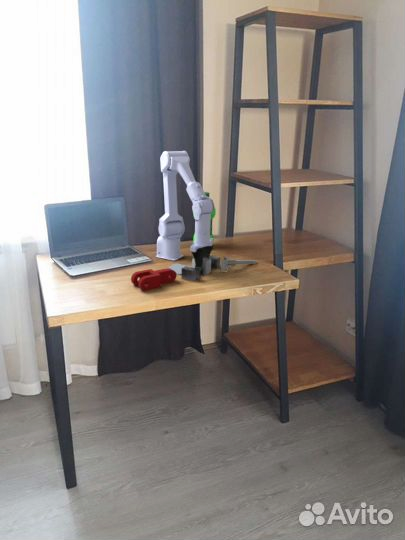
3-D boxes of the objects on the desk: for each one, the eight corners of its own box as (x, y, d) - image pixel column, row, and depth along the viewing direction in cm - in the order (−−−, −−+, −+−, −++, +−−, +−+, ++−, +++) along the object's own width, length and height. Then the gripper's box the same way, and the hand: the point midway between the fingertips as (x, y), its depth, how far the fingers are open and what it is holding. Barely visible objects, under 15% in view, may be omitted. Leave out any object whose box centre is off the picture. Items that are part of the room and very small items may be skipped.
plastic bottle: (196, 243, 214) (197, 190, 205) (217, 245, 210) (219, 192, 202) (188, 248, 205) (189, 193, 196) (210, 251, 201) (212, 195, 193)
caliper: (222, 273, 175) (223, 258, 173) (220, 272, 176) (221, 257, 174) (257, 263, 188) (258, 249, 186) (255, 262, 189) (256, 248, 187)
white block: (192, 272, 174) (192, 258, 172) (197, 269, 178) (197, 256, 176) (205, 275, 172) (206, 261, 170) (210, 272, 175) (211, 258, 173)
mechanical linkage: (140, 292, 154) (140, 279, 153) (131, 286, 160) (130, 272, 158) (179, 283, 163) (180, 270, 162) (169, 277, 169) (169, 265, 167)
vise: (181, 278, 168) (181, 268, 166) (206, 264, 184) (207, 254, 183) (195, 281, 165) (195, 271, 164) (219, 266, 182) (220, 257, 180)
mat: (162, 271, 175) (162, 270, 175) (175, 264, 183) (175, 263, 183) (179, 275, 171) (179, 274, 171) (192, 267, 180) (192, 266, 179)
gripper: (202, 236, 161) (201, 272, 166) (220, 228, 173) (219, 262, 178) (185, 233, 164) (185, 269, 169) (204, 226, 177) (203, 259, 181)
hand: (201, 265), depth 174 cm, fingers closed on white block, 4 cm apart
